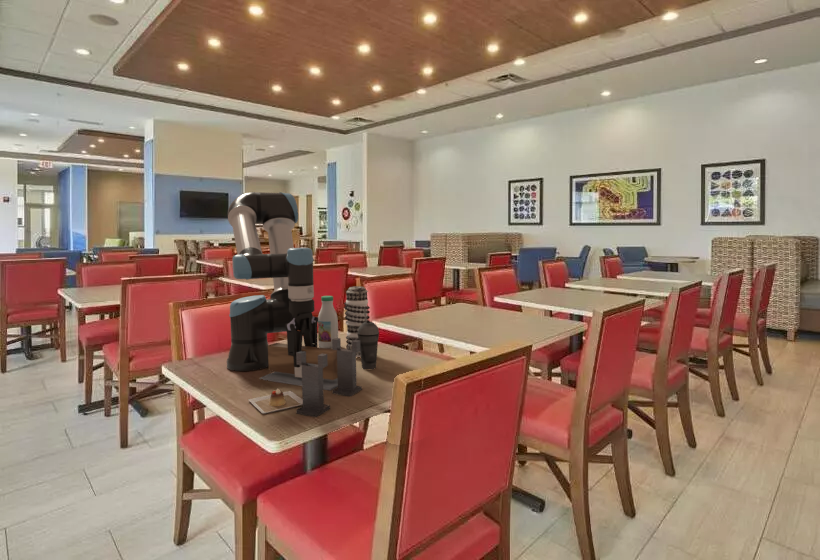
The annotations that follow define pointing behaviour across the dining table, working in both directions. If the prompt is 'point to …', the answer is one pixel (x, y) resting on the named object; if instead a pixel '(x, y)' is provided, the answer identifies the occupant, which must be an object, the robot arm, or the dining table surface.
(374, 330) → the beverage cup
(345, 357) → the standards
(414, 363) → the dining table surface
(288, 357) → the rail
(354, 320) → the decorative candle
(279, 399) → the dessert
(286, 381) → the mat
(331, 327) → the milk bottle
